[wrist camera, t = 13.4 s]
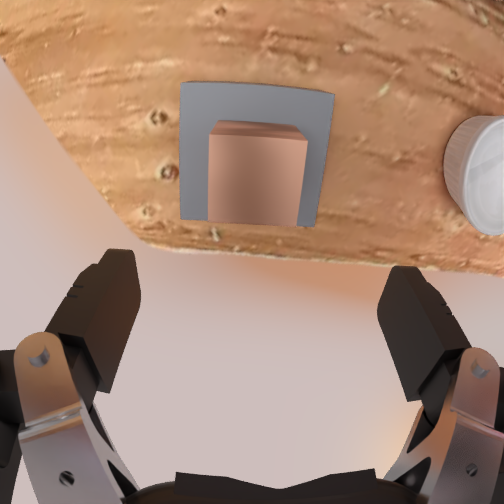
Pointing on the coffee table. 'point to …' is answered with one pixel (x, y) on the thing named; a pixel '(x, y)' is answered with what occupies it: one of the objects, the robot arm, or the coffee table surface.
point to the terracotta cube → (255, 173)
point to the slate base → (254, 110)
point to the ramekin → (478, 172)
